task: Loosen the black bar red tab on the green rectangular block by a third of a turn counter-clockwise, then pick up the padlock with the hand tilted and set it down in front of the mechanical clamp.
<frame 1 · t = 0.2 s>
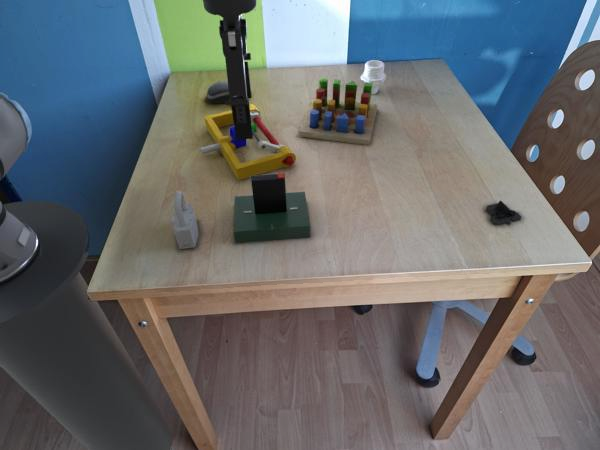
hand: (244, 116, 73), 20 cm above the table, tool pointing down, fingers open, 13 cm apart
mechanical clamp: (237, 145, 103), on the table
pipe fitting: (371, 91, 121), on the table
computer mouse: (228, 97, 120), on the table
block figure: (500, 215, 83), on the table
peg board: (339, 123, 109), on the table
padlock: (188, 236, 81), on the table
green rectangular block: (271, 221, 83), on the table
black bar red tab: (269, 193, 78), point 7 cm above the table, hinge at 0.0°
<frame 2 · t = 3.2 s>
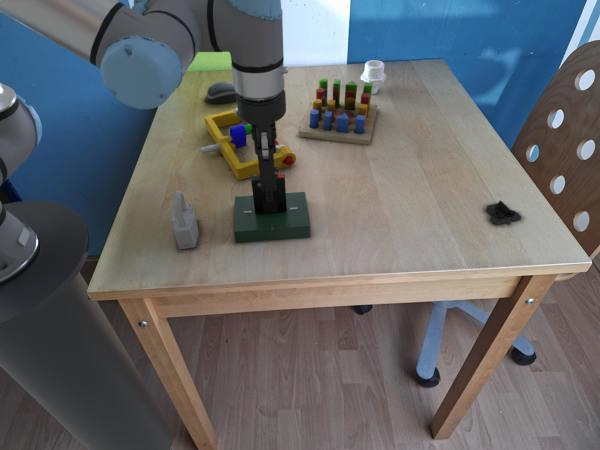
hand: (270, 206, 80), 4 cm above the table, tool pointing down, fingers closed on black bar red tab, 2 cm apart
black bar red tab: (269, 193, 78), point 7 cm above the table, hinge at 0.0°, touching gripper
everything else where it was.
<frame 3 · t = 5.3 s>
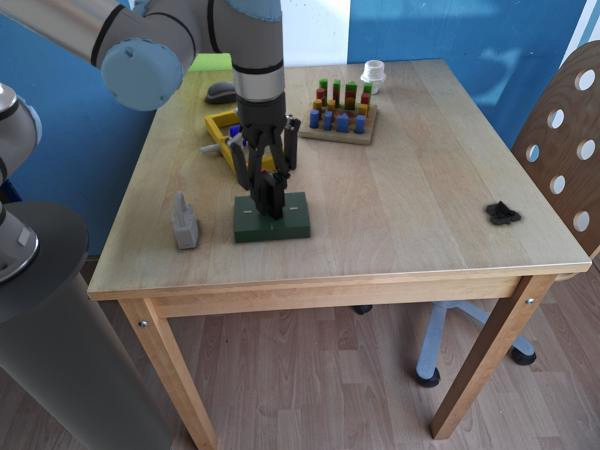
hand: (270, 207, 80), 4 cm above the table, tool pointing down, fingers open, 3 cm apart
black bar red tab: (269, 193, 78), point 7 cm above the table, hinge at 119.8°
everything else where it was.
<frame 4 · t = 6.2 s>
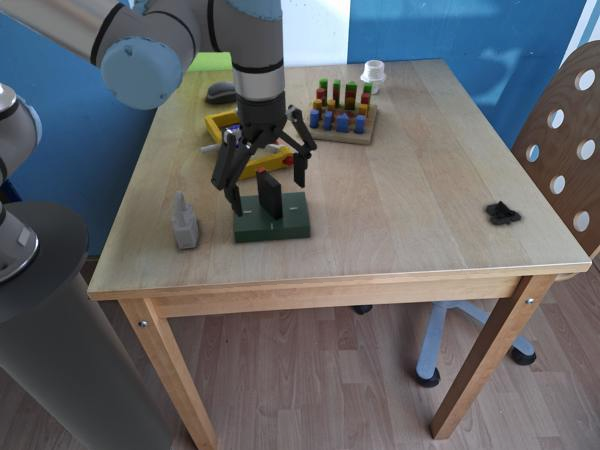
hand: (269, 198, 79), 6 cm above the table, tool pointing down, fingers open, 13 cm apart
nothing on the table moved.
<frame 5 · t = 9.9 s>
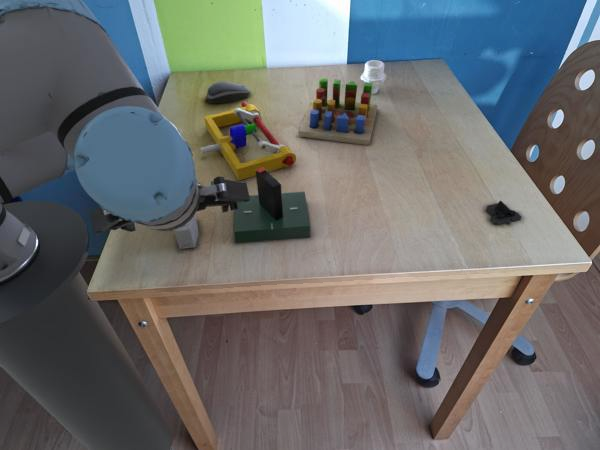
hand: (178, 212, 64), 15 cm above the table, tool tilted 45°, fingers open, 13 cm apart
nothing on the table moved.
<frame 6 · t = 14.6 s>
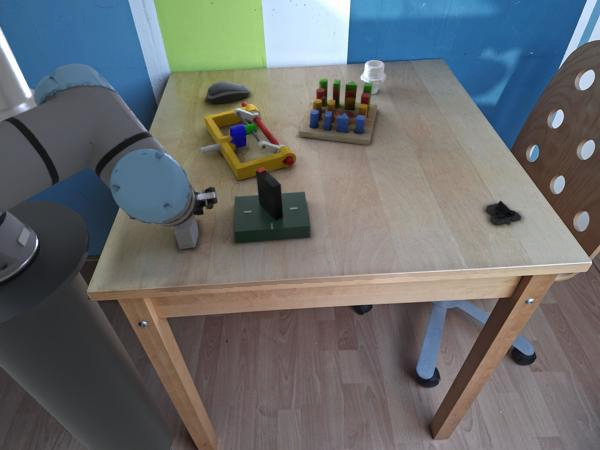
hand: (183, 210, 81), 3 cm above the table, tool tilted 45°, fingers closed on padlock, 4 cm apart
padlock: (188, 236, 81), on the table, touching gripper
everything else where it was.
when the fingers open (3 cm above the table, at t = 21.6 s): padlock stays where it is, on the table.
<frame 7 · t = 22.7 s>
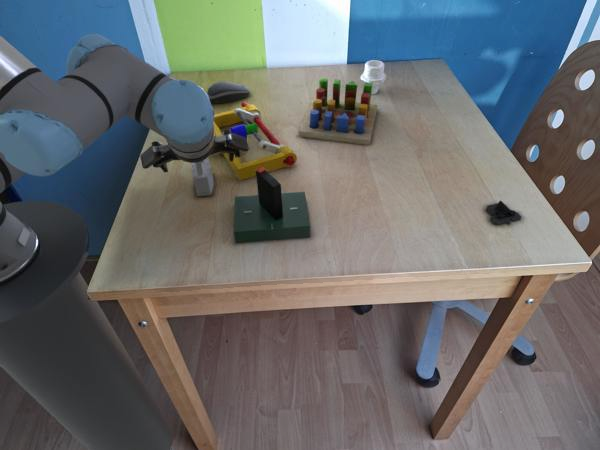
hand: (198, 160, 89), 5 cm above the table, tool tilted 45°, fingers open, 13 cm apart
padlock: (204, 186, 92), on the table
everything else where it was.
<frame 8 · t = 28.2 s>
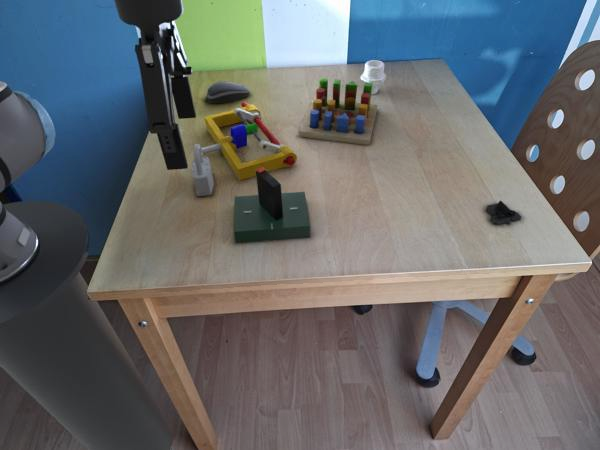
hand: (183, 140, 63), 23 cm above the table, tool pointing down, fingers open, 13 cm apart
nothing on the table moved.
at the end: black bar red tab at +120° (first picture: +0°); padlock inside the target area on the table beside the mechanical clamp (0.1 cm from its centre), on the table; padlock tilted 0° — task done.
